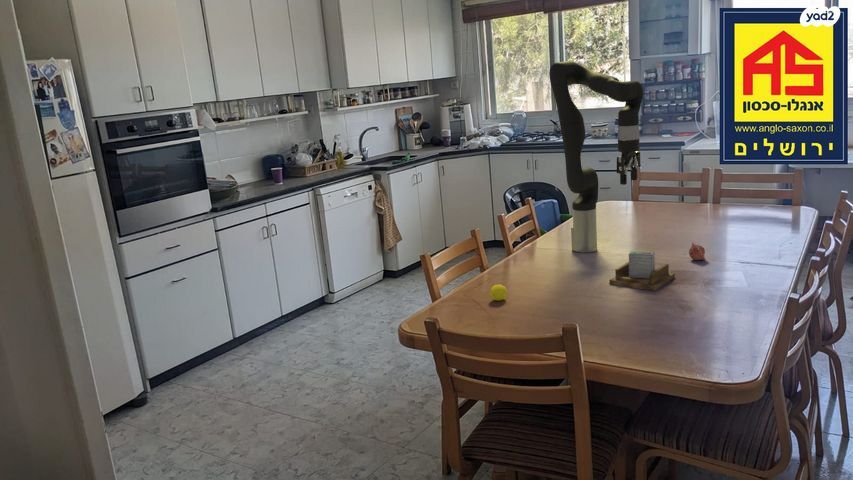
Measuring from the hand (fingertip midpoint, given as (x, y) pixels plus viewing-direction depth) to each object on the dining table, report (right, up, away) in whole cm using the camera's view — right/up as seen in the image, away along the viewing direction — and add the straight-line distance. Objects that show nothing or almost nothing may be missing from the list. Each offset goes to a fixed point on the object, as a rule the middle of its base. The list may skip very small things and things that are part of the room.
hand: (628, 182), depth 243 cm
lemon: (-50, -41, -22) cm, 69 cm away
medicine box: (-1, -34, -17) cm, 38 cm away
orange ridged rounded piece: (+26, -29, +1) cm, 38 cm away
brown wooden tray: (0, -35, -16) cm, 39 cm away
